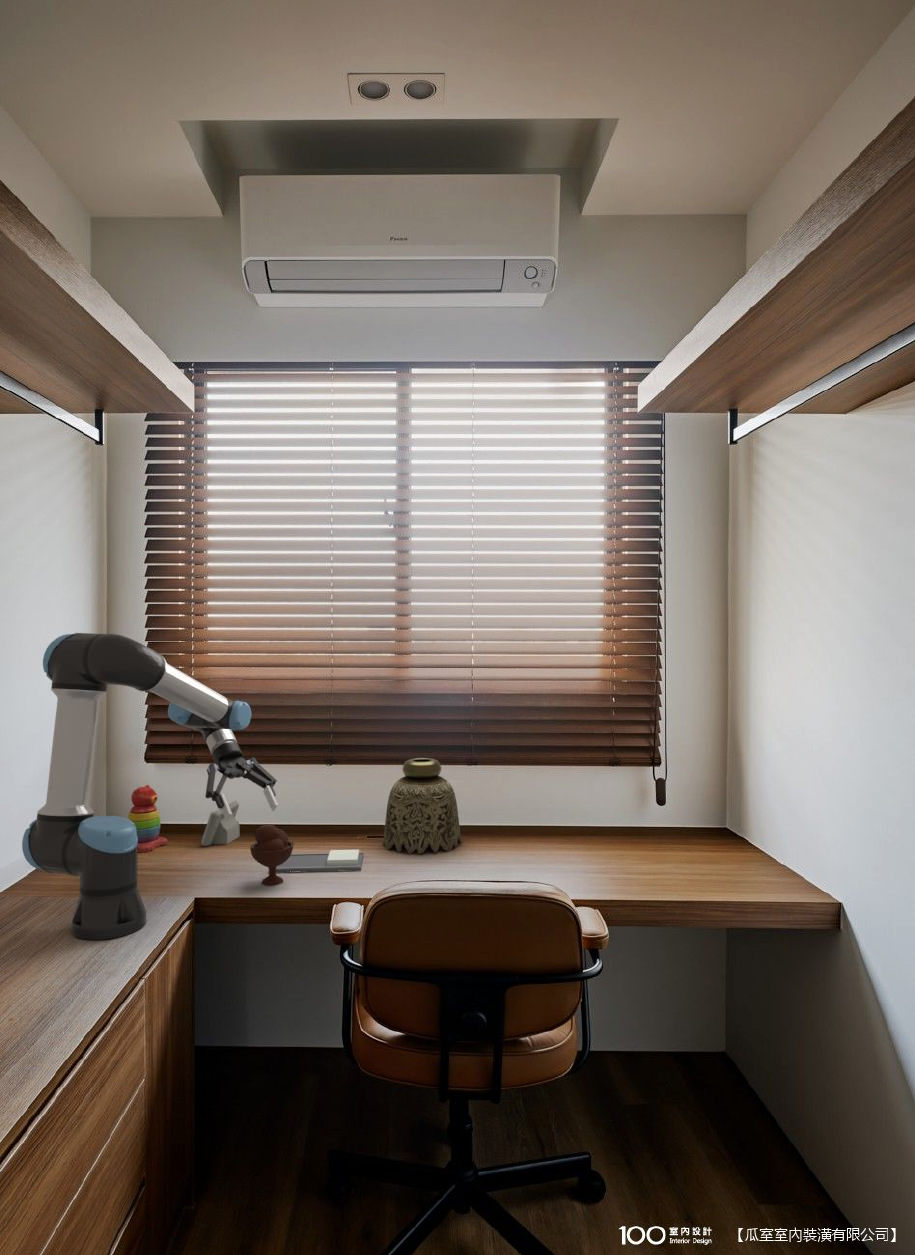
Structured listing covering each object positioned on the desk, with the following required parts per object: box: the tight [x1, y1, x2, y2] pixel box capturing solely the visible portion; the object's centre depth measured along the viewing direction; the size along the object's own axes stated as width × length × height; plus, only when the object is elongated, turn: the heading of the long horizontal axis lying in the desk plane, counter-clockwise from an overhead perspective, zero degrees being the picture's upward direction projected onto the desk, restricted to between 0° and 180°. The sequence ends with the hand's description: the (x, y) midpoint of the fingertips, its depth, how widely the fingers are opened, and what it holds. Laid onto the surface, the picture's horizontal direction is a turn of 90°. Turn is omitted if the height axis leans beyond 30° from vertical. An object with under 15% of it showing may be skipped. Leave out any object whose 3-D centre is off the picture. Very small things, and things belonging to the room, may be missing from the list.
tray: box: [276, 851, 364, 873], centre depth 220 cm, size 24×13×1 cm, turn 94°
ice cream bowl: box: [249, 823, 295, 887], centre depth 205 cm, size 11×11×15 cm
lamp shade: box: [382, 757, 462, 855], centre depth 240 cm, size 23×23×25 cm
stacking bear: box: [127, 784, 169, 853], centre depth 238 cm, size 11×10×18 cm
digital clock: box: [200, 800, 241, 847], centre depth 244 cm, size 16×9×11 cm, turn 159°
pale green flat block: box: [327, 849, 360, 866], centre depth 221 cm, size 8×10×2 cm
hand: (252, 812), depth 213 cm, fingers open, 13 cm apart
